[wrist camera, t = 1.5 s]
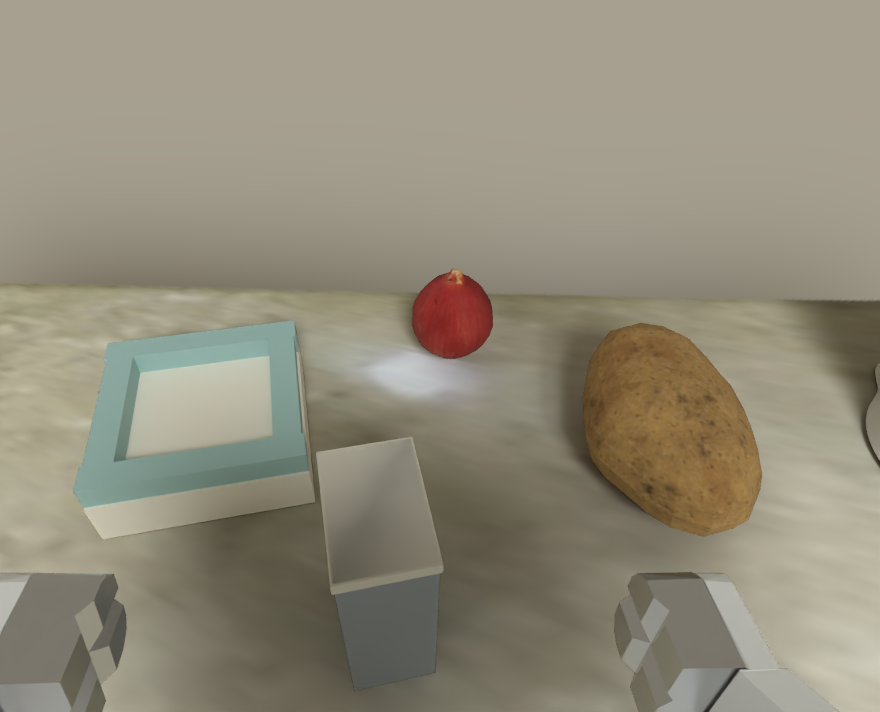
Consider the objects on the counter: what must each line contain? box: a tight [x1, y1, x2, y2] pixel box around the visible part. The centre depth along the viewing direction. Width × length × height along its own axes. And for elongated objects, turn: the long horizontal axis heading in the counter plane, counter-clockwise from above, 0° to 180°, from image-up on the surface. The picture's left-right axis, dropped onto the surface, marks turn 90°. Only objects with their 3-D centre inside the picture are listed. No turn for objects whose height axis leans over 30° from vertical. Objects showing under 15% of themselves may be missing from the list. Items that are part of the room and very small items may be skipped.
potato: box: [583, 323, 762, 536], centre depth 37 cm, size 10×14×8 cm
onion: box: [412, 269, 493, 359], centre depth 45 cm, size 6×6×8 cm
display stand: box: [73, 320, 315, 539], centre depth 39 cm, size 12×12×4 cm
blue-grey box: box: [316, 437, 444, 691], centre depth 29 cm, size 4×6×11 cm
